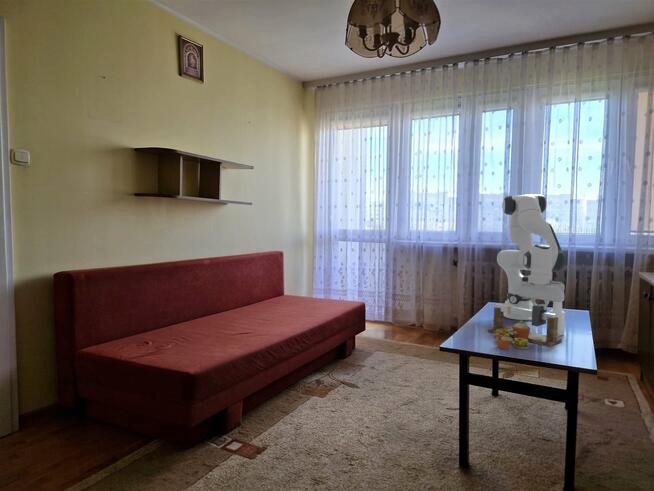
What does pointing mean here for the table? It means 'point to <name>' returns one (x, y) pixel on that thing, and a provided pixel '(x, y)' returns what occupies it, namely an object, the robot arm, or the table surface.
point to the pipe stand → (551, 318)
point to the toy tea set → (519, 335)
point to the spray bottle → (559, 316)
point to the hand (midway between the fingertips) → (539, 308)
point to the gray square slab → (537, 315)
